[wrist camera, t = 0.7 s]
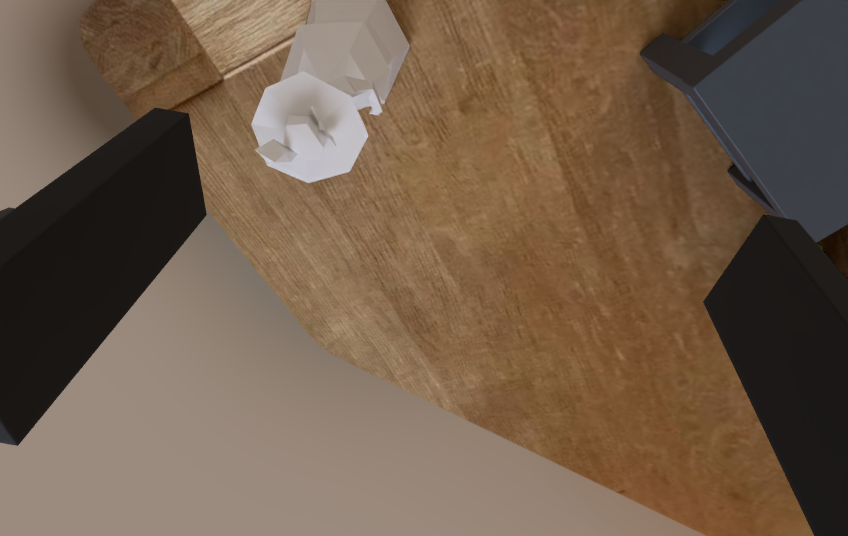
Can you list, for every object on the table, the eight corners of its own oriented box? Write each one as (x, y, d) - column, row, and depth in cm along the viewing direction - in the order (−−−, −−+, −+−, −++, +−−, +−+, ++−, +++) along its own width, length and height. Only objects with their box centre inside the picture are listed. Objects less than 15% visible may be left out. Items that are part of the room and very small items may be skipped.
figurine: (354, 123, 37) (294, 253, 22) (275, 26, 33) (139, 103, 18) (430, 63, 34) (422, 165, 19) (354, -48, 31) (271, -28, 16)
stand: (857, -140, 28) (1010, -167, 20) (941, 49, 33) (1087, 84, 25) (636, 53, 33) (692, 87, 26) (737, 187, 39) (807, 248, 31)
